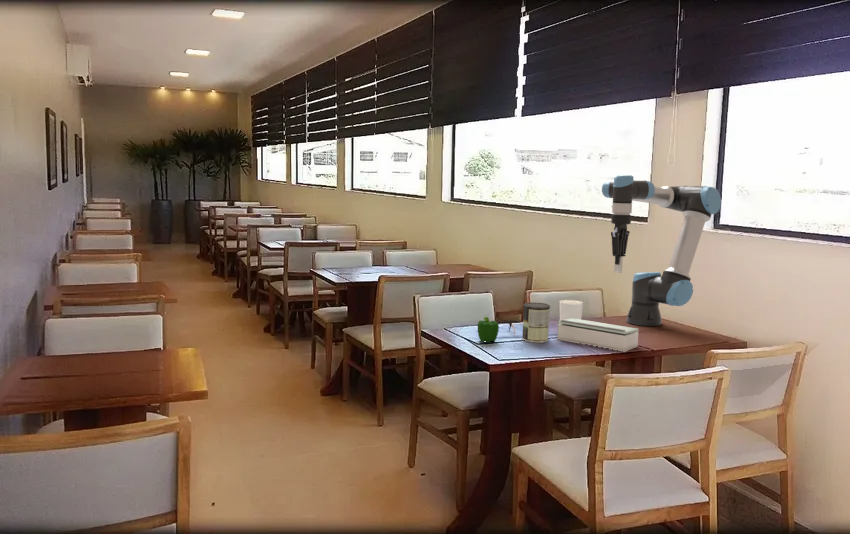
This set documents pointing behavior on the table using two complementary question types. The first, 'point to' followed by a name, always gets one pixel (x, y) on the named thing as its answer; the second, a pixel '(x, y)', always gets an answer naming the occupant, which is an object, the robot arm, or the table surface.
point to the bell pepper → (488, 330)
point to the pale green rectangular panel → (598, 326)
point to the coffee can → (536, 322)
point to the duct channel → (598, 337)
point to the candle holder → (570, 309)
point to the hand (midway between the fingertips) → (618, 272)
